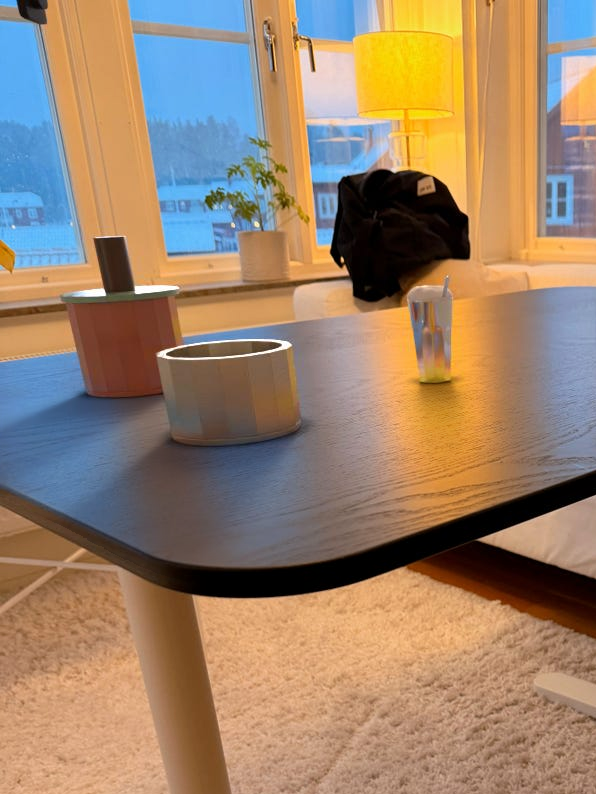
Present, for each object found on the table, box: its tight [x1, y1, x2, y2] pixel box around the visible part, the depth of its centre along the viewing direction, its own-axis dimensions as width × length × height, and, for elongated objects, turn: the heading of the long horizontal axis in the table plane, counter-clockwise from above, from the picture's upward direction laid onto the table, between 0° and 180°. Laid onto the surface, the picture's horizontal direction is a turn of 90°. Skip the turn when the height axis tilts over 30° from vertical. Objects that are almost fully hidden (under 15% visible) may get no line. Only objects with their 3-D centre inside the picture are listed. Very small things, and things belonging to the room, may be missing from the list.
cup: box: [65, 295, 185, 398], centre depth 92 cm, size 10×10×9 cm
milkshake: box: [406, 275, 454, 384], centre depth 88 cm, size 4×5×10 cm
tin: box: [156, 339, 302, 447], centre depth 72 cm, size 10×10×6 cm
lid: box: [59, 235, 180, 304], centre depth 89 cm, size 11×11×6 cm
